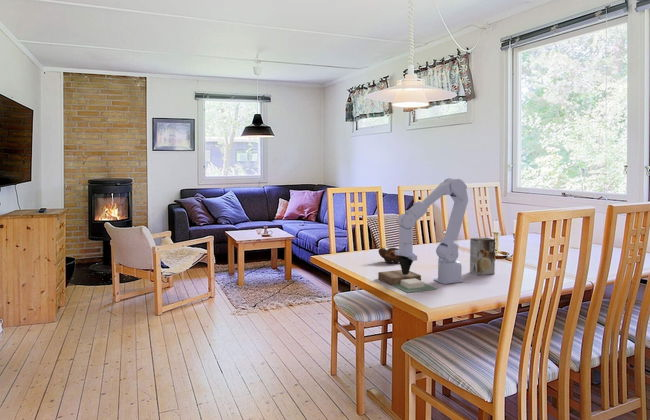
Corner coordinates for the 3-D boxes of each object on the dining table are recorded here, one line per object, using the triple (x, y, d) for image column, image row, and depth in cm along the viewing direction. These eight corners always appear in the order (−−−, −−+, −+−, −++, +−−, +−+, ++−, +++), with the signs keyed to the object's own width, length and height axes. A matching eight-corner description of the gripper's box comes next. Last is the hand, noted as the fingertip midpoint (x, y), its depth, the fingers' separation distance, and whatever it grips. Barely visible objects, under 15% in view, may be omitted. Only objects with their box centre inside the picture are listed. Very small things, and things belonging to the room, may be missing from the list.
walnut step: (405, 276, 210) (405, 269, 209) (420, 282, 199) (420, 275, 198) (378, 279, 205) (378, 272, 204) (392, 285, 193) (392, 278, 193)
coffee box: (486, 271, 218) (487, 237, 217) (494, 274, 212) (495, 239, 211) (469, 272, 216) (470, 238, 215) (476, 275, 210) (477, 240, 209)
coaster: (415, 283, 196) (415, 278, 196) (424, 287, 190) (424, 282, 190) (400, 284, 194) (400, 279, 194) (409, 288, 187) (409, 283, 187)
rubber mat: (420, 282, 199) (420, 281, 199) (437, 289, 188) (437, 288, 188) (392, 285, 193) (392, 284, 193) (407, 292, 182) (407, 292, 182)
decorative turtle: (375, 261, 241) (376, 246, 241) (403, 262, 244) (404, 247, 243) (380, 264, 232) (381, 248, 231) (409, 265, 234) (410, 249, 234)
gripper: (388, 240, 200) (388, 271, 202) (406, 245, 187) (406, 279, 188) (403, 239, 203) (402, 269, 204) (421, 244, 190) (421, 277, 191)
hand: (405, 274), depth 197 cm, fingers closed
